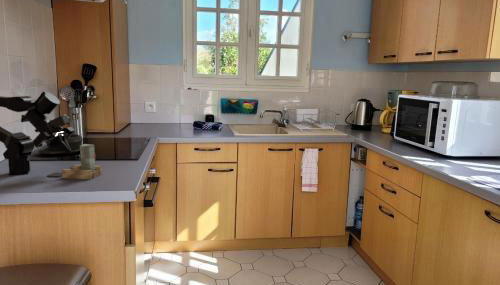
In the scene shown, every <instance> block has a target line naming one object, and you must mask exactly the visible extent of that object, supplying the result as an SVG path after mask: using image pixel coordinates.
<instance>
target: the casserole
mask: <svg viewBox="0 0 500 285" xmlns="http://www.w3.org/2000/svg"><path fill="white" fill-rule="evenodd" d="M83 140H84V139H83V138H82V137H81V135H79V134H74V133H72V135H71V136H70V137H69V138H68V139H67V141H68V144H69V146H70V148H71V150H72V152H71V153H70V154H69V153H66V152H64V151H61V150H58V149H56V148H53V147H48V144H49V141H44V143H45V144H46V148H43V149H40V150H38V151H37V153H40V154H43V155H44V154H45V155H59V156H60V155H64V156H65V155H73V154H77V153H78V152H80V146H81V145H82V142H83Z"/></svg>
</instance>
